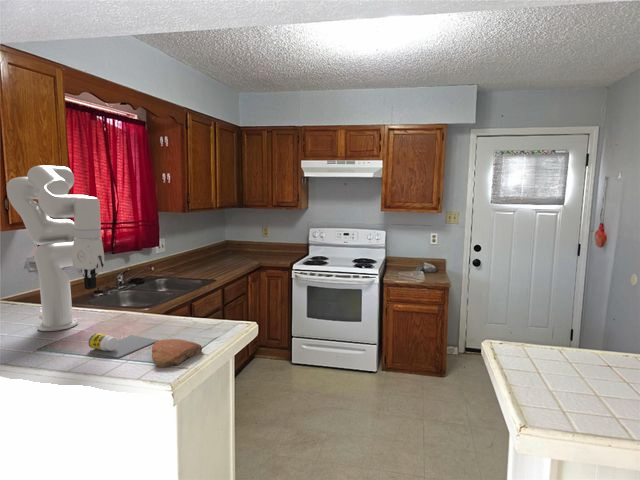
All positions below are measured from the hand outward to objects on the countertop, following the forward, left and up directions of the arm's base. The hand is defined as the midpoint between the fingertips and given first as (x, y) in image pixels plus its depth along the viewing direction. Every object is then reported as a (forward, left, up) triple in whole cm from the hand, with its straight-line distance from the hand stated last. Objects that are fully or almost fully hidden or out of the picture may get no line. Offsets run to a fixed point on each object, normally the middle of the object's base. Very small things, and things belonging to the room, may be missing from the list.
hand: (90, 288), depth 140 cm
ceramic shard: (+35, -2, -19) cm, 40 cm away
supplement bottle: (+7, -6, -15) cm, 18 cm away
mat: (+15, 0, -18) cm, 23 cm away
